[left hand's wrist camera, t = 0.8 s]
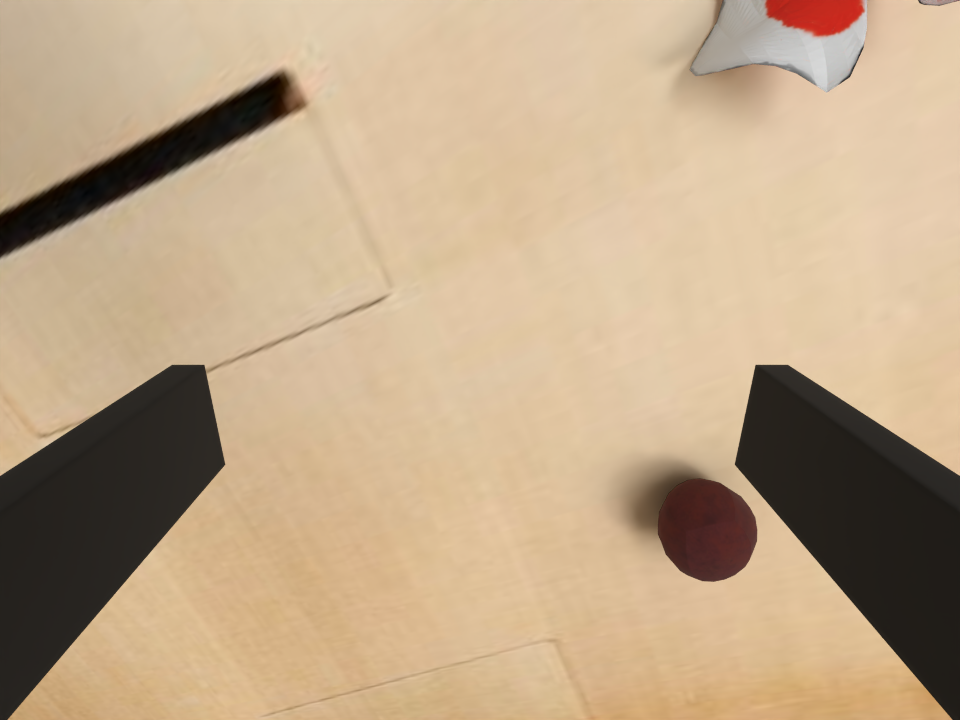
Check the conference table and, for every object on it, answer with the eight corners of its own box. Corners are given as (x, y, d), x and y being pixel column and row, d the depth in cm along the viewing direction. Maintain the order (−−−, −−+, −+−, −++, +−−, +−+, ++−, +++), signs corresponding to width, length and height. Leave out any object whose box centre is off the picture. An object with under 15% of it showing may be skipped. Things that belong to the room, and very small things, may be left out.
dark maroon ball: (657, 547, 45) (687, 611, 38) (635, 477, 43) (664, 532, 36) (739, 524, 44) (785, 585, 38) (723, 450, 42) (769, 503, 35)
